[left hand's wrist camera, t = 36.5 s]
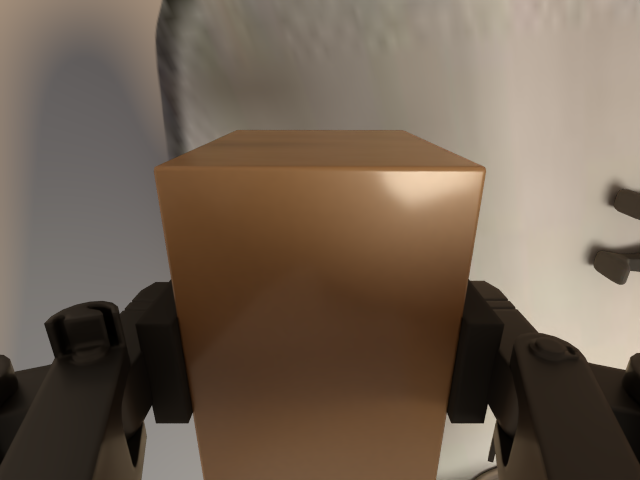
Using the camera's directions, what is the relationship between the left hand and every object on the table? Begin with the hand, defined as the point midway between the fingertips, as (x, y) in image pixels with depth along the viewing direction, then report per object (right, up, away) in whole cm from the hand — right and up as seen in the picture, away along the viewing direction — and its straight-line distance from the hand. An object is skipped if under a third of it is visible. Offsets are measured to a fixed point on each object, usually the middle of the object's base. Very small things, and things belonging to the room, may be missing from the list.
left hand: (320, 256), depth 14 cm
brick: (0, +1, +1) cm, 1 cm away
